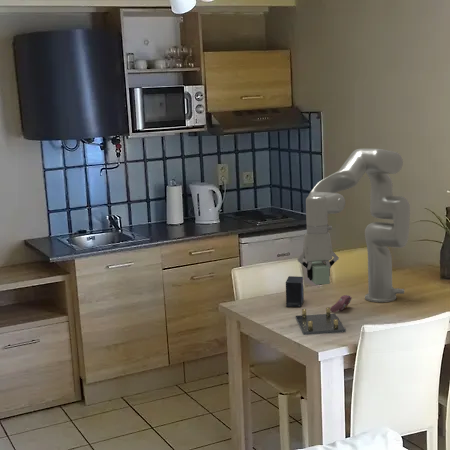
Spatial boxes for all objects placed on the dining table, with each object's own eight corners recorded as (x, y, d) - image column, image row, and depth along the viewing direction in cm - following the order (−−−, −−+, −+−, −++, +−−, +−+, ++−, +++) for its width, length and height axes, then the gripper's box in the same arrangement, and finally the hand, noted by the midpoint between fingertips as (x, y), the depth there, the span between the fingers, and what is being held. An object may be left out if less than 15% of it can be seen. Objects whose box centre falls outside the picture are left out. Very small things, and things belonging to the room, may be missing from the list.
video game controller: (338, 317, 276) (345, 302, 273) (328, 311, 277) (335, 296, 275) (348, 310, 284) (355, 295, 281) (338, 304, 286) (345, 290, 283)
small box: (302, 307, 286) (301, 282, 284) (285, 307, 287) (284, 282, 285) (304, 300, 296) (303, 275, 294) (288, 300, 297) (287, 275, 296)
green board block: (321, 276, 265) (320, 260, 264) (329, 283, 254) (329, 267, 253) (308, 277, 264) (307, 262, 263) (316, 284, 253) (315, 268, 252)
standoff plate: (335, 315, 272) (334, 305, 271) (345, 332, 252) (345, 321, 252) (295, 318, 272) (295, 308, 271) (303, 334, 252) (303, 323, 251)
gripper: (338, 226, 260) (340, 275, 263) (292, 229, 260) (293, 278, 263) (343, 230, 253) (344, 280, 256) (294, 232, 252) (296, 282, 255)
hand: (318, 278), depth 259 cm, fingers closed on green board block, 5 cm apart
